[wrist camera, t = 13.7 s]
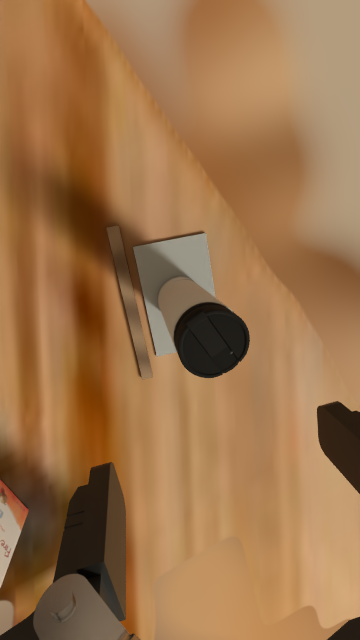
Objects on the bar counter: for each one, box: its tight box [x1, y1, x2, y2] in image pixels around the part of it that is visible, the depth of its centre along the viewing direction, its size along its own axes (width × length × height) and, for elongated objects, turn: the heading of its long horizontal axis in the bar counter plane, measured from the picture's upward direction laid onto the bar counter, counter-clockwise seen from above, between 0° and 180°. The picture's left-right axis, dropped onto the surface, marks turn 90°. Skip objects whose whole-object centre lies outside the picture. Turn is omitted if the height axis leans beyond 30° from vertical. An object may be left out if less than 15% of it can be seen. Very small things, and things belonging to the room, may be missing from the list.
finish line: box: [106, 225, 153, 380], centre depth 44 cm, size 22×2×1 cm, turn 10°
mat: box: [133, 233, 215, 357], centre depth 44 cm, size 16×10×1 cm, turn 10°
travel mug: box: [157, 276, 250, 378], centre depth 35 cm, size 6×7×20 cm
